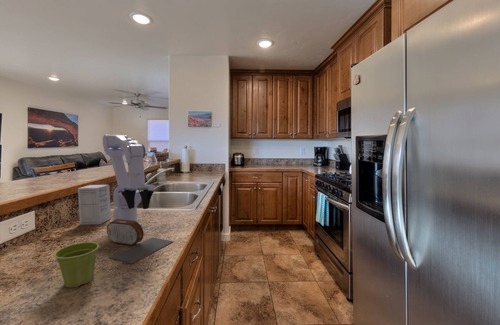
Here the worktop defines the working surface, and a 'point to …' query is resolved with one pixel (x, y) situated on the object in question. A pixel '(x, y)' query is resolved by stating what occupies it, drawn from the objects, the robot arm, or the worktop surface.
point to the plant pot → (77, 263)
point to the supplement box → (94, 204)
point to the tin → (125, 232)
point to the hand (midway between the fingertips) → (138, 208)
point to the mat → (140, 250)
